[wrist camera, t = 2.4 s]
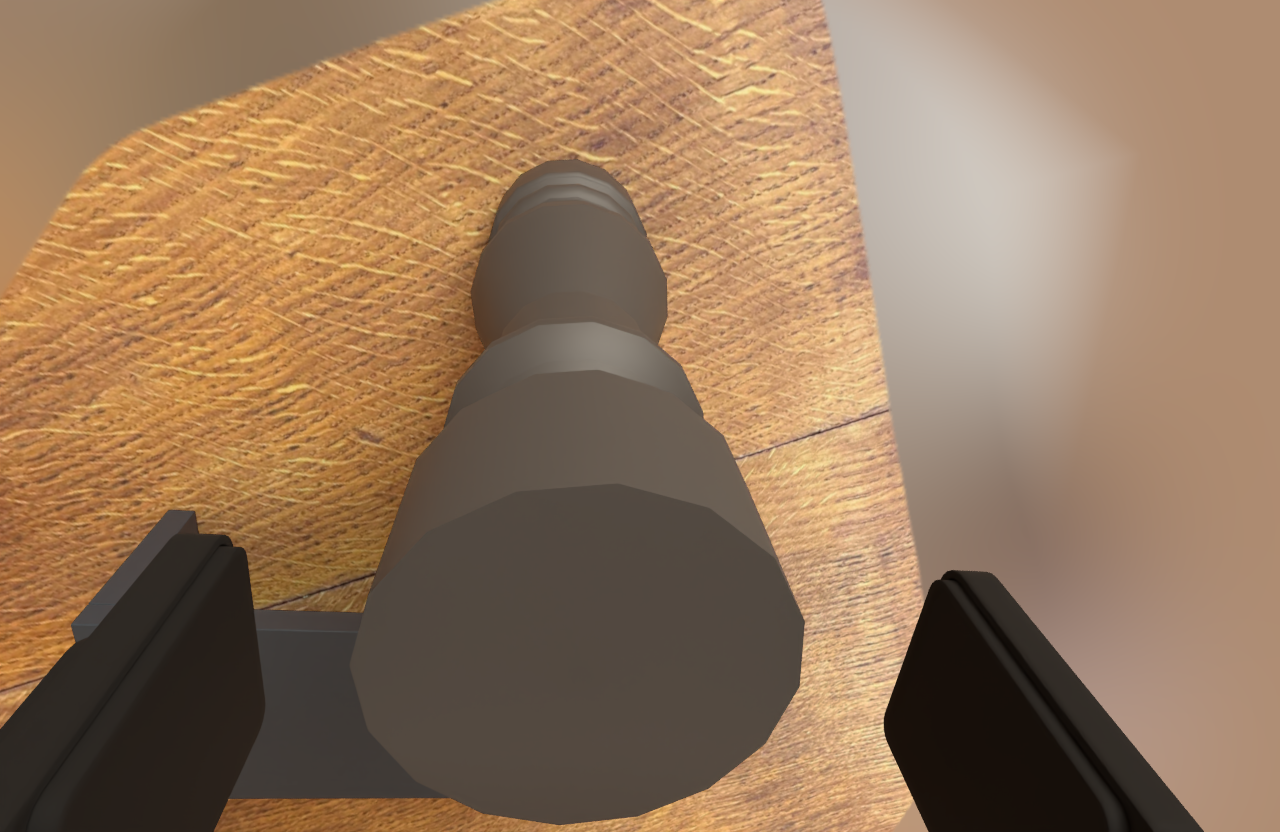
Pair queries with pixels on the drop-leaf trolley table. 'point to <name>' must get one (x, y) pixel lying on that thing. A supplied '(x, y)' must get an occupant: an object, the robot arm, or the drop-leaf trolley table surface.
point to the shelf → (290, 696)
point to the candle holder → (575, 545)
